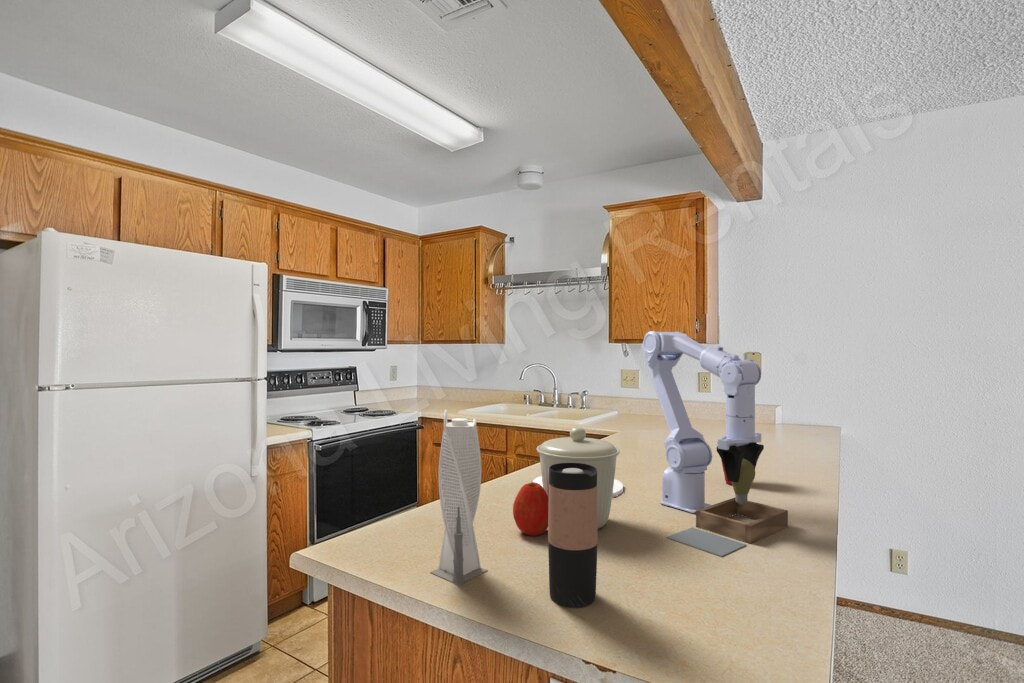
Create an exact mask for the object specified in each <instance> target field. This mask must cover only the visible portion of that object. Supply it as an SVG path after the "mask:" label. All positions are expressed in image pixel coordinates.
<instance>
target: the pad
mask: <svg viewBox="0 0 1024 683" xmlns="http://www.w3.org/2000/svg"><path fill="white" fill-rule="evenodd" d="M668 538H669V539H668ZM666 539H668V540H671V539H672V540H671V541H674V540H675V541H674V542H677V541H678V542H677V543H680V542H681V543H680V544H683V545H685V546H688V545H689V547H691V546H692V548H694V547H695V548H694V549H697V548H698V549H697V550H700V551H703V552H706V553H708V554H712V555H715V556H718V557H721V558H722V557H725V556H727V555H729V554H731V553H733V552H736V551H738V550H740V549H742V548H744V547H746V546H747V544H746V543H744V542H741V541H738V540H737V541H735V539H730V538H727V537H725V536H722V535H719V534H716V533H711V532H707V531H706V530H703V529H702V530H701V529H700V528H697V527H696V528H695V527H689V528H687V529H683V530H681V531H679V532H676V533H674V534H670V535H668V536H666Z"/></svg>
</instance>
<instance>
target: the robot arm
mask: <svg viewBox="0 0 1024 683" xmlns="http://www.w3.org/2000/svg"><path fill="white" fill-rule="evenodd" d="M641 350H642V353H643V355H644V358H645V362H646V364H647V367H648V372H649V376H650V378H651V382H652V385H653V387H654V390H655V393H656V396H657V398H658V402H659V405H660V407H661V410H662V411H661V412H662V413H663V416H664V419H665V422H666V425H667V428H668V431H669V434H668V435H667V437H666V439H665V440H664V442H663V444H664V447H665V458H666V461H667V464H668V465H669V466H668V467H666V468H665V470H664V471H663V475H662V481H661V482H662V496H661V497H662V499H661V501H660V504H661V505H664V506H668V507H671V508H673V509H678V510H682V511H684V512H688V513H691V514H696V510H699V509H702V508H705V507H708V506H711V505H712V504H709V503H707V502H706V501H705V499H706V498H705V497H706V492H705V491H706V488H705V487H706V484H705V481H706V480H705V474H706V473H705V471H708V466H709V465H711V463H712V460H713V451H712V448H711V446H710V445H709V444H708V443H707V442H706V440H705V438H704V435H703V434H702V433H700V432H699V431H698V430H696V429H694V428H693V426H692V424H691V421H690V418H689V414H688V412H687V410H686V407H685V405H684V402H683V399H682V396H681V394H680V391H679V387H678V385H677V382H676V379H675V377H674V374H673V372H672V371H673V369H674V367H676V366H677V364H678V363H679V361H680V359H681V358H682V356H683V354H684V355H686V356H688V357H691V358H693V359H695V360H697V361H699V364H700V367H701V368H702V369H704V370H706V371H708V372H709V373H711V374H713V375H714V376H716V377H718V378H719V379H720V381H721V383H722V385H723V392H724V394H725V435H724V436H723V437H721V438H718V439H717V441H718V446H717V445H716V452H717V454H718V456H719V457H720V460H722V461H721V463H722V462H723V465H724V468H725V472H726V476H727V479H728V481H732V482H736V483H737V482H738V481H739V478H740V469H741V463H742V460H743V458H744V459H746V460H748V461H749V462H751V463H752V465H753V466H754V468H755V469H756V467H757V464H758V460H759V458H760V456H761V454H762V452H763V451H764V448H765V446H764V444H761V443H762V433H761V432H760V433H759V432H756V420H755V419H756V385H757V384H759V382H760V381H761V379H762V371H761V370H762V369H761V367H760V366H759V364H758V363H757V362H755V361H754V360H753V359H750V358H749V359H747V358H746V359H742V358H740V356H739V355H738V354H734V353H733V354H731V353H729V352H727V351H726V350H724V347H723V346H720V345H714V346H709V347H706V346H705V345H703V344H701V343H699V342H698V341H696V340H694V339H692V337H691V338H690V337H689V336H688V334H687V333H683V332H682V331H655V330H650V331H648V332H646V333H645V335H644V337H643V341H642V343H641Z"/></svg>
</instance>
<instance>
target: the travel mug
mask: <svg viewBox="0 0 1024 683" xmlns="http://www.w3.org/2000/svg"><path fill="white" fill-rule="evenodd" d="M547 529H548V530H547V544H548V545H547V546H548V547H547V549H548V550H547V552H548V579H549V580H548V581H549V582H548V584H549V597H550V599H551V601H552V602H553V603H555V604H557V605H560V606H562V607H565V608H575V609H577V608H585V607H587V606H590V605H592V604H593V603H594V602H595V600H596V596H597V569H598V568H597V567H598V565H597V564H598V539H599V538H598V529H597V469H596V467H594V466H592V465H588V464H583V463H558V464H554V465H551V466H550V467H549V509H548V528H547Z"/></svg>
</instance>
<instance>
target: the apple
mask: <svg viewBox="0 0 1024 683" xmlns="http://www.w3.org/2000/svg"><path fill="white" fill-rule="evenodd" d="M548 509H549V498H548V495H547V493H546V491H545V490H544V488H543V487H542V486H541V485H540V484H538V483H535V482H532V481H531V482H530V483H526V484H524V485H522V486H521V487H520V489H519V490H518V492H517V494H516V496H515V497H514V502H513V504H512V514H513V519H514V522H515V524H516V527H517V528H518V529H519V531H520V532H521V533H523V534H526V535H527V536H531V537H532V536H533V537H534V536H535V537H536V536H540V535H542V534H544V533H545V532H546V531H547V529H548Z"/></svg>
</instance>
